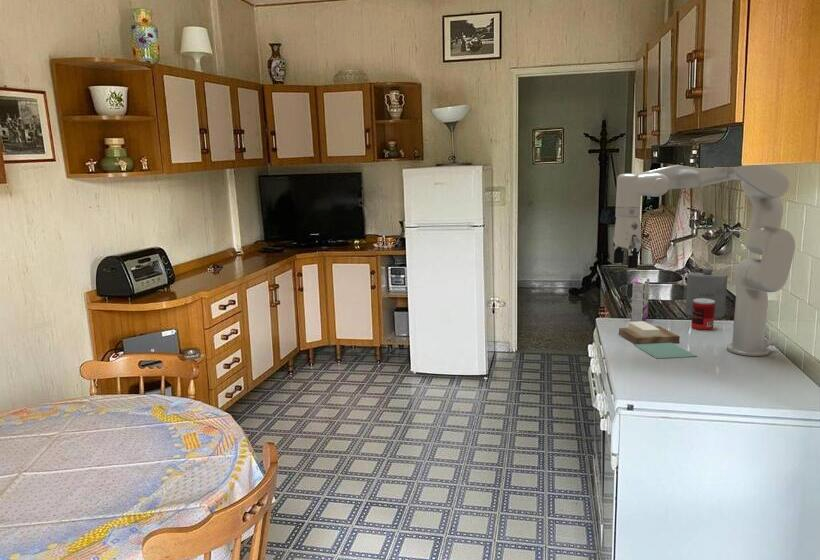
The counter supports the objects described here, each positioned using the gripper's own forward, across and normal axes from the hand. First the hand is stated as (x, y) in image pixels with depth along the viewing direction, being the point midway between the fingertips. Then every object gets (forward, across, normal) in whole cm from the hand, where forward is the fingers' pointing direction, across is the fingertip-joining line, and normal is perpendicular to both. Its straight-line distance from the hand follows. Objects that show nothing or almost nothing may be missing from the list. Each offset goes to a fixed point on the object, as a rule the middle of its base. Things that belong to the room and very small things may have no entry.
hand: (625, 265), depth 206 cm
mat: (+31, +2, -17) cm, 35 cm away
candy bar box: (+31, +44, -29) cm, 61 cm away
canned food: (+31, +27, -46) cm, 61 cm away
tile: (+28, +17, -17) cm, 37 cm away
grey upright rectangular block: (+31, +44, -58) cm, 80 cm away
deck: (+31, +17, -19) cm, 40 cm away
